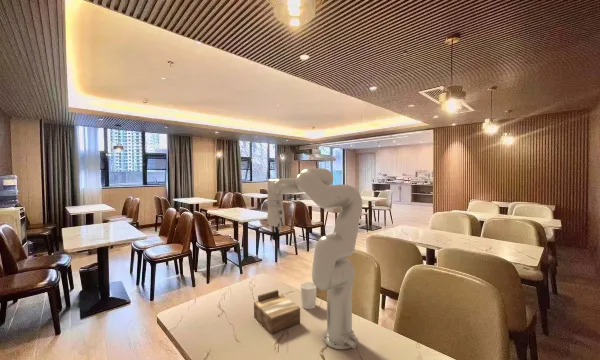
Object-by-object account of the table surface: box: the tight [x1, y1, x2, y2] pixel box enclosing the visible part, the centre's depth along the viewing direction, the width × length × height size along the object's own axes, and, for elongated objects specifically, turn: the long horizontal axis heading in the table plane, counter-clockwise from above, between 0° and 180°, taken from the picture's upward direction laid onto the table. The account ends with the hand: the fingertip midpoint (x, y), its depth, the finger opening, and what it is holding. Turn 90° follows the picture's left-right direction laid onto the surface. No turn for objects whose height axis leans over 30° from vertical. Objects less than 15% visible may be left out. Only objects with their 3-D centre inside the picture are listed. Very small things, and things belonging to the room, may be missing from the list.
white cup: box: [299, 281, 317, 310], centre depth 131 cm, size 8×8×10 cm
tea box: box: [253, 303, 301, 336], centre depth 118 cm, size 16×14×6 cm
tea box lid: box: [253, 289, 301, 320], centre depth 118 cm, size 16×14×3 cm
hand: (275, 239), depth 136 cm, fingers closed
